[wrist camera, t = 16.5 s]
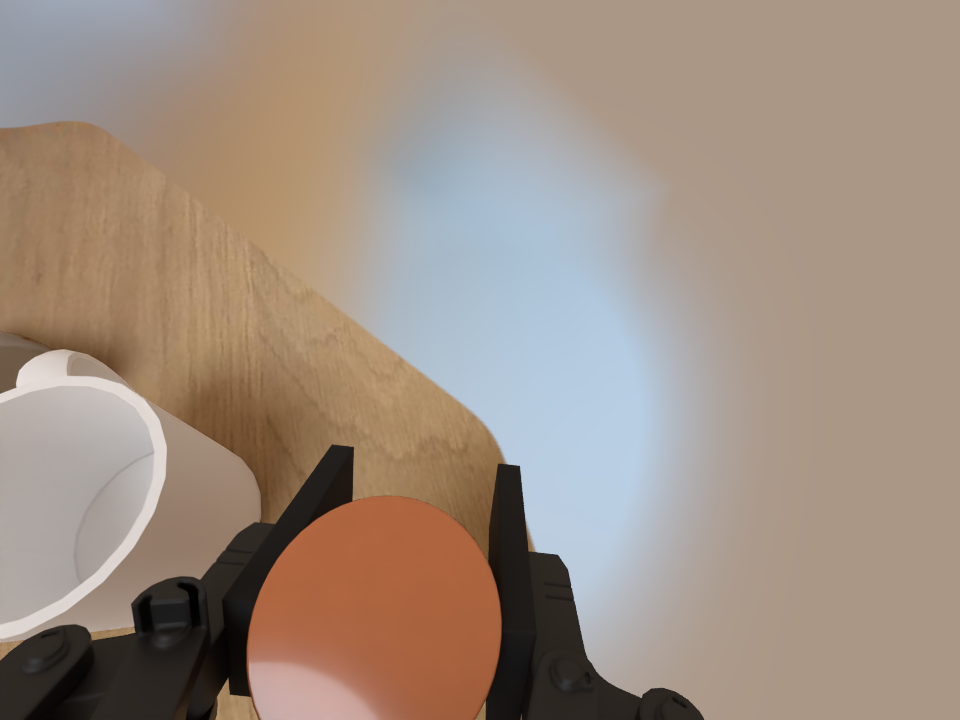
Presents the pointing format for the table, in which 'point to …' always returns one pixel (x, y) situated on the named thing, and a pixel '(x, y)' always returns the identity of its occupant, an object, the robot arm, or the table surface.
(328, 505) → the robot arm
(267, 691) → the orange cylindrical post
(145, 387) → the table surface
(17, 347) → the mug
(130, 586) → the mug
